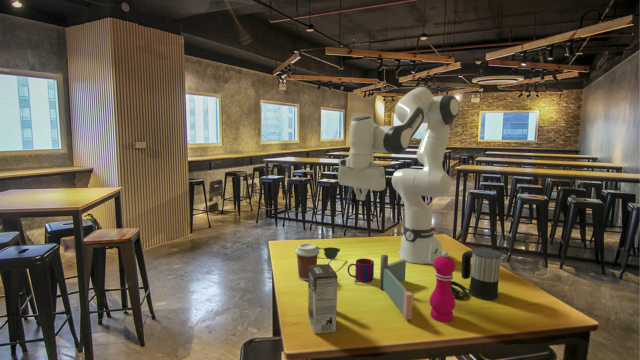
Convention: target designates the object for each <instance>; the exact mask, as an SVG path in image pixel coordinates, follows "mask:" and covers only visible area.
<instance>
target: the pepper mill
mask: <svg viewBox="0 0 640 360" xmlns="http://www.w3.org/2000/svg"><path fill="white" fill-rule="evenodd" d="M433 268H434V270H435V272H434V273H435V275H434V278H435V279H436V282H435V287H434V290H433V291H432V292H431V295H430V296H429V305H430V307H431V308H430V317H431V318H432V319H433V320H435V321H438V322H441V323H449V322H451V321H453V318H454V312H453V310H455V308H456V299H455V297H454V296H453V294H452V291H451V286H452V285H451V281H453V280H454V274H453V273H454V272H455V271H456V262H455V261H454V259H453V258H452V257H449V252H448V251H443V253H442V256H440V257H437V258H436V259H435V261H434V264H433Z"/></svg>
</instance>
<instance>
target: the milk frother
mask: <svg viewBox="0 0 640 360" xmlns="http://www.w3.org/2000/svg"><path fill="white" fill-rule="evenodd" d="M502 257H503V254H502V253H501V252H500V251H497V250H494V249H490V248H481V247H477V248H473V249H472V250H468V251H467V250H466V251H465V252H463V254H462V256H461V278H462V279H463V280H468V279H470V283H469V287H468V288H467V287H465V286H464V285H463V284H461V283H460V282H459V283H458V282H456V281H453V280H451V291H452V294H453V296H454V298H457V299H466V298H467V296H468V293H469V294H470V295H471V296H472V297H475V298H478V299H481V300H486V301H492V300H496V299H498V298H499V280H500V279H499V278H500V271H501V270H500V269H501V261H502V260H501V258H502ZM456 287H458V288H459V289H458V288H456ZM461 291H462V293H463V294H461Z"/></svg>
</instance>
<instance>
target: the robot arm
mask: <svg viewBox="0 0 640 360" xmlns="http://www.w3.org/2000/svg"><path fill="white" fill-rule="evenodd" d="M459 112H460V103H459V101H458V99H457V98H456V97H455V96H454V95H448V94H447V95H446V94H445V95H438V96H433V93H432V92H431V90H430V89H429V88H426V87H424V86H418V87H416V88H414V89H412V90H410V91H409V92H407V93H406V94H404V95H403V96H402V97H401V98H400V99H399V100H398V101H397V103H396V104H395V107H394V114H395V116H396V119H397V120H398V121H399V122H400V123H402V124H399V125H379V124H377V123H376V122H374V119H373V117H372V116H358V117H355V118H353V119H352V120H351V121H350V126H349V133H348V136H349V137H348V141H349V143H348V144H349V148H350V149H349V152H348V157H345V158H342V159H339V161H338V166H339V168H338V171H337V180H338V181H337V182H338V184H339V185H340V186H345V187H353V191H354V194H355V196H356V197H355V199H356V200H358V201H365V200H366V196H367V193H368V191H369V190H371V191H377V192H380V191H383V190H385V189H386V176H385V167H384V165H382V164H381V163H375V162H374V158H375V153H387V154H388V153H389V154H393V155H402V154H404V153H405V151H407V150H408V148H409V146H410V144H411V141H412V140H413V137H414V136H415V135H416V134H417V131H418V130H419V129H420V127H421V126H422V124H427V128H426V130H425V131H424V133H423V135H422V138H421V141H420V143H419V146H418V148H417V151H416V158H417V161H418V162H419V163H421V165H423V168H422V169H420V168H419V169H418V168H401V169H397V170H395V172H394V173H393V175H392V177H391V184H392V187H393V189H394V190H395V191H396V192H397V193H398V194H399V196H400V198H401V200H402V202H403V206H404V214H405V215H404V225H403V229H402V230H403V235H402V236H401V242H400V250H398V253H397V254H398V255H399V258H400V260H402V259H404V260H406V262H408V263H412V264H421V265H423V264H428V265H434V261H435V259H436V258H437V257H440V256H442V253H443V252H444V251H443V250H442V242H441V241H440V240H439V239H438V238H437V237H436V236H435V235H434V234H435V233H436V232H437V229H438V227H437V226H432V222H433V211H432V207H430V205H428V204H427V203H426V202H425V201H424V200H423V197H430V198H438V197H439V198H440V197H446V195H448V193H450V191H451V187H452V181H451V177H450V176H449V174H447V172H446V171H445V170H444V167H443V160H444V156H445V152H446V149H447V146H448V143H449V139H450V131H451V130H450V125H452V123H453V122H454V121H455V119H456V118H457V116H458V114H459ZM374 152H375V153H374ZM360 190H361V191H360ZM422 196H423V197H422Z"/></svg>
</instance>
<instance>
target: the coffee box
mask: <svg viewBox="0 0 640 360" xmlns="http://www.w3.org/2000/svg"><path fill="white" fill-rule="evenodd" d="M335 272H336V271H335V270H334V268H332V266H331V265H330V263H329V264H328V263H327V264H322V263H321V264H320V263H319V264H318V263H317V264H316V265H308V280H307V281H308V283H307V285H308V287H307V288H308V290H307V291H308V295H307V297H308V300H307V303H308V306H307V307H308V309H307V310H308V311H307V313H308V315H307V318H308V320H309V322H310V323H309V324H310V326H311V328H312V330H313V333H314V335H315V334H323V333H324V334H325V333H333V332H334V333H335V332H336V331H337V307H338V306H337V305H338V303H337V302H338V275H337V272H336V273H335Z"/></svg>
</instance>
